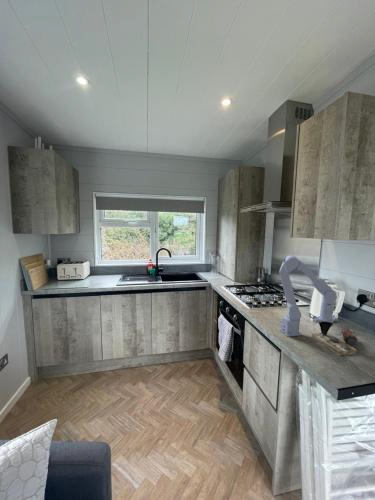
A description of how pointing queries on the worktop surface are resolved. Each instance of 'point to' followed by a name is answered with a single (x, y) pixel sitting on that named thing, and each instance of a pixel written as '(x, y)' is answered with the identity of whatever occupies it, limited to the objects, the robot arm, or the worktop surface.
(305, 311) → the worktop surface
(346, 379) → the worktop surface
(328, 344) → the button board
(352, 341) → the supplement bottle
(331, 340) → the button middle
